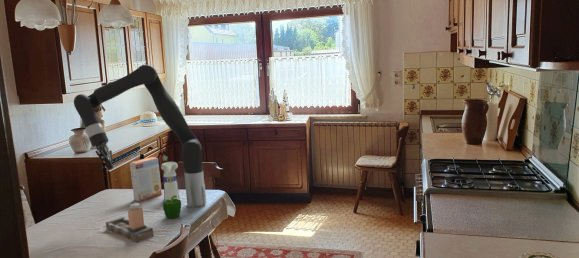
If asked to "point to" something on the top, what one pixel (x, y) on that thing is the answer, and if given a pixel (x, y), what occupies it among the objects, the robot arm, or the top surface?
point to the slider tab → (136, 218)
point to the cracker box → (145, 178)
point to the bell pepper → (172, 207)
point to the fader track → (121, 229)
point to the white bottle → (170, 179)
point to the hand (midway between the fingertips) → (110, 169)
